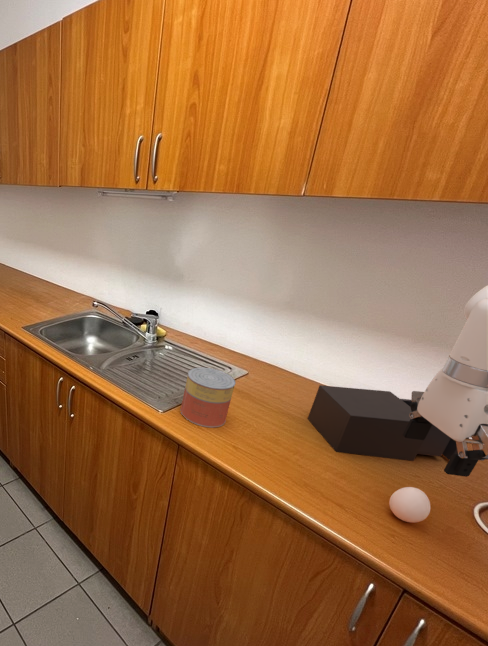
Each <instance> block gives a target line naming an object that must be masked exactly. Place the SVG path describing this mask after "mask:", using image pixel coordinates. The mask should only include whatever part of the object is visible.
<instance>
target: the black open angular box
mask: <svg viewBox="0 0 488 646" xmlns="http://www.w3.org/2000/svg"><path fill="white" fill-rule="evenodd" d="M400 399H401V400H402V401H403V402H405V403H406V404H407V405H409V406H410V403H411V402H412V401H411V399H409V398H400ZM470 438H472V437H471V436H470V437H469V438H467V437H466V439H470ZM453 454H458V451H457V446H456V441H455V440H453V439H452V438H450V437H449V436H448V435H446V434H445V433H444V432H442V431H441V430H440V429H438V428H437V427H436V426H434V425H433V424H432V426H431V428H430V430H429V432H428V434H427V436H426V438H425V440H424V442H423V443H422V445H421V447H420V449H419V451H418V453H417V455H424V456H433V457H442V456H444V457H445V458H446V459H447V460H448V461H449V460H450V458H451V456H452V455H453Z"/></svg>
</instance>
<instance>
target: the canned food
mask: <svg viewBox="0 0 488 646" xmlns="http://www.w3.org/2000/svg"><path fill="white" fill-rule="evenodd" d="M235 386H236V380H235V378H234V377H232V376H231V375H230V374H228V373H227V372H226V371H225V372H224V371H223V370H219V369H216V368H212V367H202V366H199V367H193V368H191V369H189V370H188V371H187V377H186V380H185V387H184V391H183V396H182V400H181V406H180V409H179V412H180V411H181V412H180V414H181V416H182V415H183V416H184V417H185V418H186V421H188V420H189V422H190V423H192V424H194V425H196V426H199V427H203V428H220V427H222V426H224V425H225V424H226V422H227V416H228V413H229V409H230V405H231V401H232V398H233V394H234V389H235ZM183 416H182V417H183ZM184 417H183V418H184ZM185 418H184V419H185Z"/></svg>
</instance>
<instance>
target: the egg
mask: <svg viewBox="0 0 488 646" xmlns="http://www.w3.org/2000/svg"><path fill="white" fill-rule="evenodd" d="M388 503H389V508H390V510H391V512H392V513H393V514H394V516H395V517H396V518H398V519H399V520H401V521H403V522H407V523H419V522H422V521H424V520H426V519H427V518H428V516H429V515H430V513H431V501H430V499H429V497H428V495H427V493H425V492H424V491H423V490H421V489H420V488H418V487H413V486H404V487H401V488H399V489H396V490H395V491H394V492H393V493H392V495H391V496H390V498H389V502H388Z"/></svg>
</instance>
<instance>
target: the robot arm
mask: <svg viewBox="0 0 488 646" xmlns="http://www.w3.org/2000/svg"><path fill="white" fill-rule="evenodd" d="M463 316H464V318H465V319H466V321H465V323H464V325H463V327H462V329H461V331H460V333H459V335H458V337H457V339H456V341H455V343H454V345H453V347H452V349H451V351H450V353H449V355H448V357H447V359H446V361H445V363H444V365H443V367H441V368H440V370H439V371H437V373H436V374H435V375H434V377H433V378H432V380H431V381H430V382H429V384H428V385H427V387H426V388H425V390H424V391H419V390H413V391H411V396H410V397H411V398H410V400H411V401H412V402H411V403H410V407H411V411H412V412H411V413H410V414H409V417H410V418H411V419H410V421H409V423H408V425H407V427H406V429H405V432H404V434H403V436H404V437H405V438H409V439H417V440H424V439H425V438H426V436H427V434H428V432H429V430H430V428H431V426H432V424H433V425H434V426H436V427H437V428H438V429H440V430H441V431H442V432H444V433H445V434H446V435H448V436H449V437H450V438H452V439H453V440H455V441H456V446H457V451H458V454H453V455H452V456H451V458H450V460H449V459H448V462H447V464H446V465H445V467H444V468H443V472H444V473H445V474H447V475H451V476H458V477H470V476H471V474H472V472H473V470H474V469H475V467H476V465H477V463H478V462H479V461H482V462H483V461H485V460H486V461H487V460H488V284H487V285H485V286H483V287H482V288H481V289H479V291H477V292H476V293H475V294H473V295H472V296H471V297H470V298H469V299H468V300H467V302H466V303H465V306H464V309H463ZM470 436H471V437H470ZM466 437H467V438H469V439H466ZM468 444H469V445H471V446H472V449H471V450H469V449H468Z"/></svg>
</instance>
